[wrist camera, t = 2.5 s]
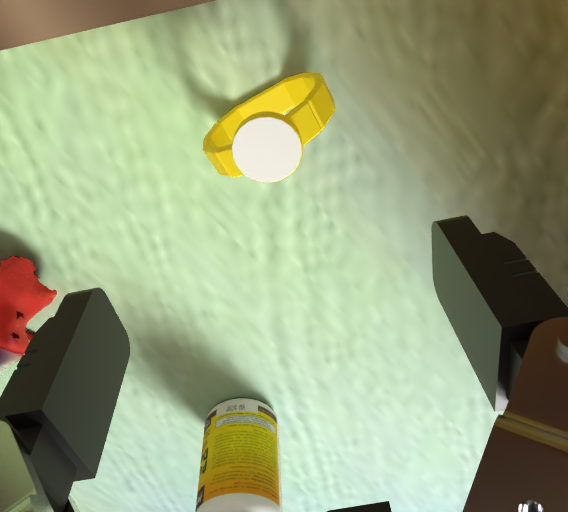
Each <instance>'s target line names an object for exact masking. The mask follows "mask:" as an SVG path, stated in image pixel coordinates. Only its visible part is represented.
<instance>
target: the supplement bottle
mask: <svg viewBox="0 0 568 512" xmlns="http://www.w3.org/2000/svg"><path fill="white" fill-rule="evenodd" d="M196 512H282V493H281V470H280V447H279V427H278V419H277V416H276V414H275V413H274V411H273V410H272V409H271V408H270V407H269V406H268V405H266V404H264V403H263V402H260V401H258V400H254V399H248V398H237V399H231V400H227V401H225V402H222V403H220V404H218V405H217V406H215V407H214V408H213V409H212V410H211V411H210V412H209V414H208V416H207V418H206V422H205V428H204V438H203V447H202V456H201V466H200V476H199V485H198V494H197V504H196Z"/></svg>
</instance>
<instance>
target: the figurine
mask: <svg viewBox="0 0 568 512" xmlns="http://www.w3.org/2000/svg"><path fill="white" fill-rule="evenodd" d="M32 262H33V261H32V260H31V261H30V260H29V259H26V258H23V257H22V256H21V257H20V258H19V257H17V256H10V258H9V259H7V260H1V265H0V371H2V370H3V369H5V368H7V367H9V366H11V365H13V364H14V363H16V362H17V361H19V360H20V359H21V357H22V355H24V354H25V350H26V348H27V346H28V344H29V341H30V340H31V339H32V337H33V335H31V334H29V333H26V331H25V326H26V324H27V322H28V321H29V320H30V319H31V318H32V317H33V316H34V315H35V314H37V313H38V312H39V311H40V310H41V309H43V308H44V307H45V306H47V305H49V304H50V303H51V302H52V301H53V299H54V297H55V296H56V294H57V291H56V290H53V291H52V290H50V289H48V288H47V287H46V286H44V285H42V284H41V283H40V282H39V281H38V279H37V278H39V277H37V276H36V275H34V271H35V270H37V269H36V268H35V267H34V266H33V264H34V263H32ZM43 286H44V287H43ZM28 340H29V341H28Z"/></svg>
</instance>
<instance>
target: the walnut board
mask: <svg viewBox="0 0 568 512" xmlns="http://www.w3.org/2000/svg"><path fill="white" fill-rule="evenodd" d="M210 1H215V0H0V50H4V49H8V48H13V47H17V46H21V45H26V44H30V43H34V42H39V41H43V40H47V39H51V38H56V37H60V36H64V35H69V34H73V33H77V32H81V31H86V30H90V29H94V28H99V27H103V26H107V25H112V24H116V23H120V22H124V21H129V20H133V19H137V18H142V17H146V16H150V15H154V14H159V13H163V12H167V11H172V10H176V9H180V8H185V7H189V6H193V5H197V4H202V3H206V2H210Z"/></svg>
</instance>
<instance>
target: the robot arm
mask: <svg viewBox="0 0 568 512" xmlns="http://www.w3.org/2000/svg"><path fill="white" fill-rule="evenodd" d="M432 264H433V280H434V286H435V290H436V293H437V296H438V299H439V301H440V303H441V305H442V307H443V309H444V311H445V313H446V315H447V317H448V319H449V321H450V323H451V325H452V327H453V329H454V331H455V333H456V335H457V337H458V339H459V341H460V343H461V345H462V347H463V349H464V351H465V353H466V355H467V357H468V359H469V361H470V363H471V365H472V367H473V369H474V371H475V373H476V375H477V377H478V379H479V381H480V383H481V385H482V387H483V389H484V391H485V393H486V395H487V397H488V399H489V401H490V403H491V405H492V407H493V409H494V411H501V410H505V411H504V414H503V415H498V417H497V419H496V421H495V423H494V425H493V428H492V431H491V433H490V436H489V439H488V442H487V445H486V447H485V450H484V453H483V456H482V459H481V461H480V464H479V467H478V470H477V473H476V475H475V478H474V481H473V484H472V487H471V489H470V492H469V495H468V498H467V501H466V503H465V506H464V509H463V512H568V307H567V306H566V305H565V304H564V303H563V301H562V300H561V299H560V298H559V297H558V295H557V294H556V293H555V292H554V290H553V289H552V288H551V287H550V286H549V284H548V283H547V282H546V281H545V280H544V278H543V277H542V276H541V275H540V274H539V272H538V273H537V272H536V269H535V267H534V266H533V265H532V264H531V263H530V261H529V260H526V257H525V255H524V254H523V253H522V252H521V250H520V249H519V248H518V247H517V246H516V244H515V243H514V242H512V241H510V240H508V239H507V238H505V237H503V236H501V235H499V234H497V233H496V232H491V233H486V234H481V233H480V232H479V230H478V229H477V227H476V226H475V225H474V223H473V222H472V221H471V219H470V218H469V217H468V216H466V215H465V216H460V217H455V218H450V219H445V220H440V221H435V222H433V224H432ZM129 356H130V343H129V338H128V335H127V332H126V330H125V328H124V326H123V325H122V323H121V321H120V319H119V317H118V315H117V314H116V312H115V310H114V308H113V306H112V304H111V302H110V301H109V299H108V297H107V295H106V293H105V292H104V291H103V290H102V289H101V288H93V289H88V290H83V291H78V292H73V293H68V294H66V295H65V297H64V299H63V301H62V302H61V304H60V306H59V308H58V310H57V312H56V314H55V316H54V317H51V318H49V319H48V320H47V321H46V322H45V323H44V324H43V325H42V326H41V327H40V328H39V329H38V331H37V332H36V333H35V334H34V335H33V337H32V339H31V340H30V342H29V344H28V346H27V348H26V350H25V355H22V357H21V359H20V361H19V363H18V365H17V370H15V371H14V372H13V374H12V376H11V378H10V380H9V382H8V384H7V386H6V387H5V389H4V391H3V393H2V395H1V397H0V512H80V511H79V509H78V507H77V505H76V503H75V501H74V500H73V498H72V497H71V496H70V495H69V494H70V491H71V487H72V484H73V482H74V481H80V480H86V479H92V478H95V476H96V473H97V469H98V466H99V462H100V459H101V455H102V452H103V448H104V445H105V441H106V438H107V434H108V431H109V427H110V423H111V420H112V416H113V413H114V409H115V406H116V402H117V399H118V395H119V392H120V388H121V385H122V381H123V377H124V374H125V370H126V367H127V363H128V360H129ZM327 512H391V508H390V504H389V501H386V502H380V503H374V504H368V505H361V506H355V507H349V508H342V509H336V510H330V511H327Z"/></svg>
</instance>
